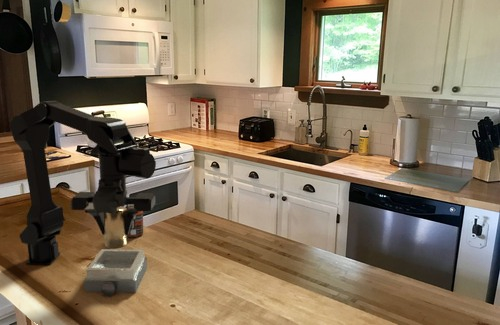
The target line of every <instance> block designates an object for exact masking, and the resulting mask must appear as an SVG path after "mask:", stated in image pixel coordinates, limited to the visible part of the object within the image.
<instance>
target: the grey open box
mask: <svg viewBox="0 0 500 325" xmlns="http://www.w3.org/2000/svg"><path fill="white" fill-rule="evenodd" d="M147 259H148V258H147V257H145V249H120V248H116V249H112V248H108V249H106V248H105V249H103V248H102V249H101V250H100V251H99V252H98V253H97V255H96V256H95V258H94V259H93V260H92V262H90V264H89V265H88V267H87V268H86V270H85V271H86V274H85V275H86V276H85V278H84V279H83V287H84V293H101V294H102V295H103V296H104V297H112V296H113V295H114V293H130V294H131V293H133V294H135V293H137V291H138V289H139V286H140V285H141V282H142V280H143V278H144V276H145V274H146V272H147V269H148V260H147Z"/></svg>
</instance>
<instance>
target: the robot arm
mask: <svg viewBox="0 0 500 325" xmlns="http://www.w3.org/2000/svg"><path fill="white" fill-rule="evenodd" d="M56 123H57V124H61V125H64V126H66V127H67V128H68V127H69V128H71V129H74V130H76V131H78V132H81V133H83V134H85V135H86V137H87V139H88V140H90V141H91V142H93V143H94V144H96V145H95V146H94V147H93V148H92V149H91V150H90V153H91V154H96V155H98V164H99V180H98V188H97V190H96V192H94V191H79V192H78V193H77V194H75V195H74V196H73V197H72V198H71V200H70V210H72V211H84V213H85V214H89V215H90V216H92V217H93V218H94V220H95V222H96V223H97V226H98V228H99V231H100V232H101V234H102V235H103V236H104V213H114V212H116V210H117V207H120V206H123V207H126V205H128V209H127V211H126V212H125V214H126V235H128V234H129V231H130V228H131V225H132V222H133V219H134V216H135V214H138V213H139V212H140V211H143V212H150V211H152V210H153V208H154V206H155V205H156V196H155V194H154V193H153V192H138V194H137V195H136V196H135V197H133V196H127V195H128V190H127V182H126V181H127V177H135V178H141V179H150V178H151V177H152V176H153V175H154V173H155V172H156V166H157V162H156V160H155V157H154V155H153V154H152V153H151V152H150V151H151V150H150V149H151V148H148V147H139V145H138V144H137V141H136V139H135V138H134V136H133V135H132V134H131V132H130V131H129V129H128V127H127V125H126V122H125V121H124V120H123V119H121V118H115V117H108V116H107V117H106V116H105V117H104V116H96V115H92V114H89V113H87V112H85V111H83V110H82V111H81V110H79V109H76V108H74V107H71V106H68V105H65V104H64V103H61V102H60V101H57V100H47V101H41V102H39V103H37V105H35V106H33V107H32V108H30V109H27V110H26V111H24V112H22V113H20V114H17V115H14V117H13V118H12V119H11V120H10V123H9V126H10V132H11V135H12V139H13V141H14V142H15V143H16V145H17V146H18V147H19V148H20V149H21V150H22V152H23V159H24V160H23V161H24V166H25V171H26V172H25V173H26V180H27V184H28V185H27V186H28V190H29V197H30V202H31V205H30V207H29V211H28V213H27V214H26V227H24V229H23V231H21V233H19V238H20V242H21V243H22V244H25V245H27V253H28V259H27V260H26V262H25V264H26V265H38V266H39V265H41V266H42V265H45V266H46V265H48V266H49V265H51V264H52V263H53V262H54V261H55V260H56V259H57V258H58V257H60V255H61V252H60V250H59V243H58V242H59V241H57V238H56V236H59V235H60V234H61V232H62V228H63V227H64V222H65V221H66V218H64V208H63V207H62V206H58V205H57V204H56V203H55V202H54V200H53V194H52V189H51V182H50V176H49V175H50V174H49V170H48V162H47V158H46V157H47V155H46V150H45V149H46V145H47V143H48V140H49V138H50V128H51V127H52V126H54V125H55V124H56Z"/></svg>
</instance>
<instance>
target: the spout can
mask: <svg viewBox="0 0 500 325" xmlns="http://www.w3.org/2000/svg"><path fill="white" fill-rule="evenodd" d="M125 207H126V206H120V207H117V210H116V212H114V213H104V235H103V236H104V246H105V248H108V249H120V248H123V247H126V246H127V244H128V237H127V235H126V214H125V212H126V208H125Z"/></svg>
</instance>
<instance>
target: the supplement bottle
mask: <svg viewBox="0 0 500 325" xmlns="http://www.w3.org/2000/svg"><path fill="white" fill-rule="evenodd" d="M124 207H125V208H126V211H127V209H128V205H125V206H124ZM143 212H144V211H140V212H139V213H138V214H135V216H134V219H133V222H132V225H131V228H130V231H129V234H128V235H127V238H138V237H140V236H142V235H143V234H144V213H143Z"/></svg>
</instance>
